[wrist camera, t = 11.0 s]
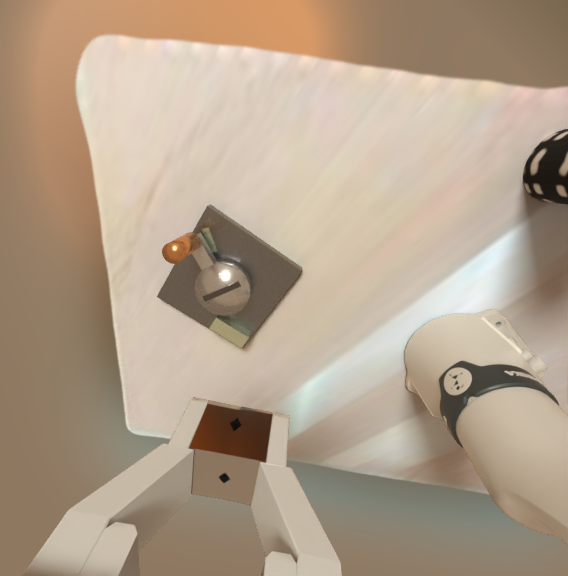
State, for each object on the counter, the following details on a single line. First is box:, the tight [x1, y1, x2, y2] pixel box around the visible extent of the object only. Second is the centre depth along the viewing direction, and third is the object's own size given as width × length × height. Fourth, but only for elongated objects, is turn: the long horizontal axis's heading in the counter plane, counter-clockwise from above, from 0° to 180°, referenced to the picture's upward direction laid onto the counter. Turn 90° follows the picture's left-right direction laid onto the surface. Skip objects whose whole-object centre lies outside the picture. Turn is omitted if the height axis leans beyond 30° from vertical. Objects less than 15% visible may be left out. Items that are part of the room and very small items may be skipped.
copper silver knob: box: [162, 232, 252, 316], centre depth 38 cm, size 8×13×8 cm, turn 25°
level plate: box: [157, 205, 302, 348], centre depth 43 cm, size 16×17×3 cm
